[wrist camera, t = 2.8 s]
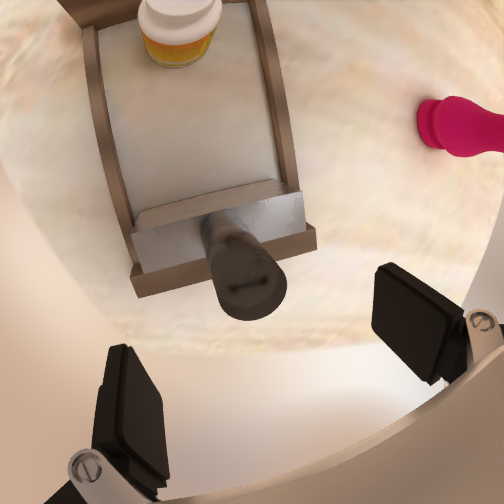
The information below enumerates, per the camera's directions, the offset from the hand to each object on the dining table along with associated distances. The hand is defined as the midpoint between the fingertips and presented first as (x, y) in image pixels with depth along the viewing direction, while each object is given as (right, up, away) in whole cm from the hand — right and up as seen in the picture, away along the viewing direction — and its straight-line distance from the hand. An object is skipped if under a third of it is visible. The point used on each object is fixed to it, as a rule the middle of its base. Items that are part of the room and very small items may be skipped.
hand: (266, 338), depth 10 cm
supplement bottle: (-7, +21, +9) cm, 23 cm away
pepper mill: (+22, +19, +17) cm, 34 cm away
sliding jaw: (-4, +7, +15) cm, 17 cm away
